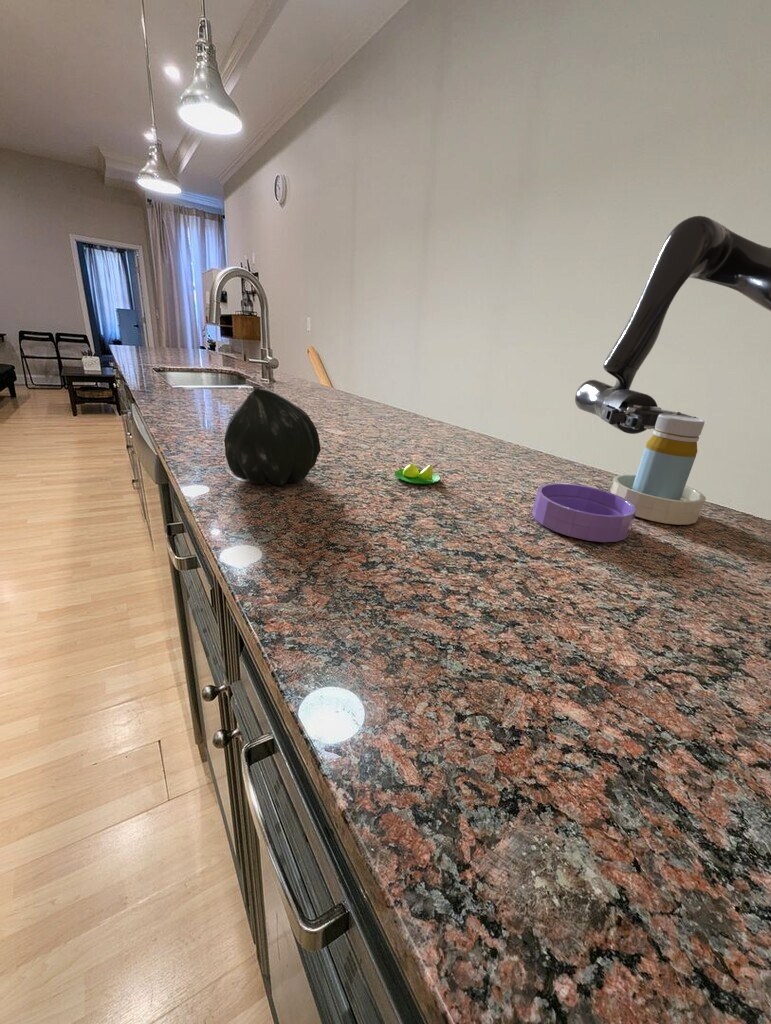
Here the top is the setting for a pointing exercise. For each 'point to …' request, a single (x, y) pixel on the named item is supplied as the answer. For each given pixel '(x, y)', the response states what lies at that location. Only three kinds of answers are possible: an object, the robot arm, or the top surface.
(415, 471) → the plate of pears
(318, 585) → the top surface
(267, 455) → the squash
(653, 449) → the bottle
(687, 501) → the cream bowl
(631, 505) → the lavender bowl
